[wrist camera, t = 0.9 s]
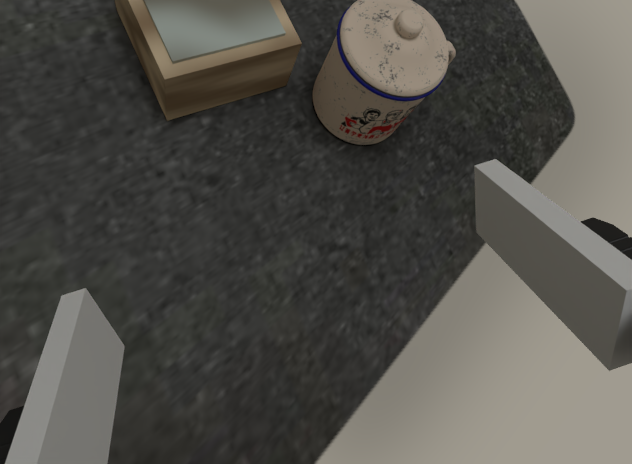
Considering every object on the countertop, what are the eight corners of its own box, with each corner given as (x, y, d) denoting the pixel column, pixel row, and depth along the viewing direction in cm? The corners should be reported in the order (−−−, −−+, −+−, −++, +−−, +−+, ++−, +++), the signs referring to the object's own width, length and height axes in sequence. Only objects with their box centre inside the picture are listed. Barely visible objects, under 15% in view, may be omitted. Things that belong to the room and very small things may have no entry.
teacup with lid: (330, 159, 42) (382, 87, 31) (294, 70, 43) (331, -29, 32) (440, 129, 46) (520, 56, 35) (403, 49, 47) (469, -46, 36)
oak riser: (116, 9, 40) (105, -52, 34) (235, -16, 44) (243, -74, 38) (167, 120, 39) (164, 77, 33) (286, 85, 43) (302, 40, 37)
